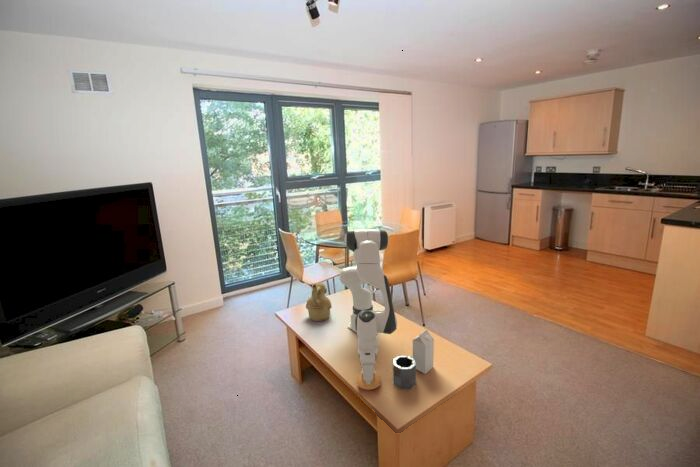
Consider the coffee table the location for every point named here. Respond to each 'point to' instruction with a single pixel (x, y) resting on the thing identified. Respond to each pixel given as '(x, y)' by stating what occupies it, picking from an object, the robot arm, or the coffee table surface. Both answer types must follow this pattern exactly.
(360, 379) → the orange cap
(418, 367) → the milk carton
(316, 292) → the ceramic vessel
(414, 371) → the graphite tube
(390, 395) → the coffee table surface
